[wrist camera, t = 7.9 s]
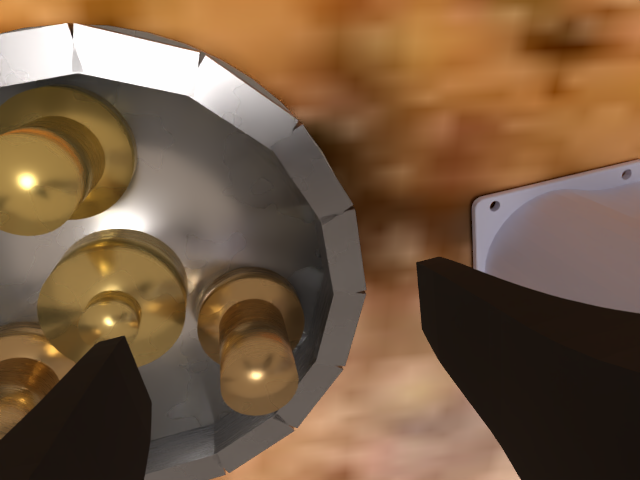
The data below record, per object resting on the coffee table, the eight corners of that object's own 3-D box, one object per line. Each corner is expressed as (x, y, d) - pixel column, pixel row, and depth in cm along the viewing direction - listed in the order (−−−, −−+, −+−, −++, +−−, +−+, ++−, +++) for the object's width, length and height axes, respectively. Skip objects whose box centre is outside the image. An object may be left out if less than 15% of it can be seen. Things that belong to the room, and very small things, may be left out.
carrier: (311, -19, 18) (353, -43, 12) (372, 391, 26) (413, 480, 21) (-293, 82, 15) (-556, 106, 10) (-12, 500, 24) (-76, 632, 18)
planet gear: (124, 80, 17) (92, 95, 12) (147, 203, 19) (126, 255, 14) (-18, 87, 16) (-108, 106, 12) (20, 215, 18) (-45, 273, 13)
